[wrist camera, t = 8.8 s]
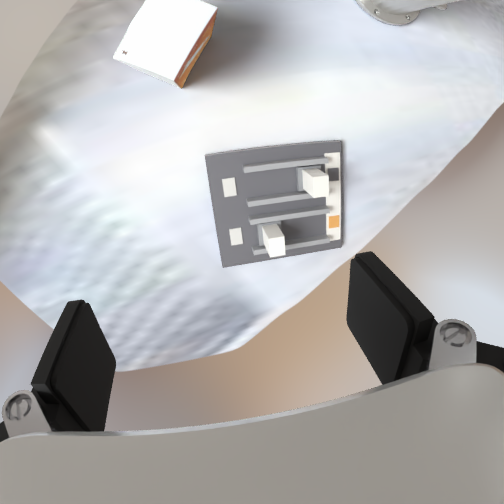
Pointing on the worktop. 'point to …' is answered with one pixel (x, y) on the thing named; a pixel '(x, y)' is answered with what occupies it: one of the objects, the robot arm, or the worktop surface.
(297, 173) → the switch
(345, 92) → the worktop surface
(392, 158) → the worktop surface
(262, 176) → the switch unit
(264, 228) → the switch
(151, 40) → the small box
